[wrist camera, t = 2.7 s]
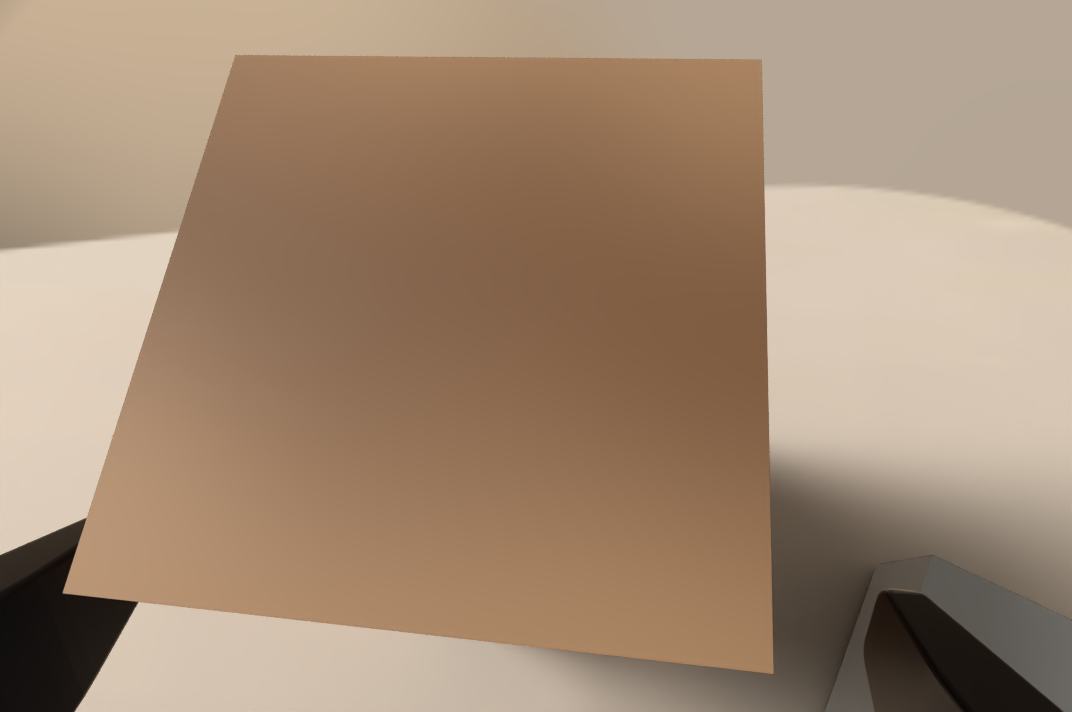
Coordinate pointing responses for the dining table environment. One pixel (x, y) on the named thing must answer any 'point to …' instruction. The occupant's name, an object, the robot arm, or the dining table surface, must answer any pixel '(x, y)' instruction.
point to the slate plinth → (984, 610)
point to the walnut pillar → (461, 360)
